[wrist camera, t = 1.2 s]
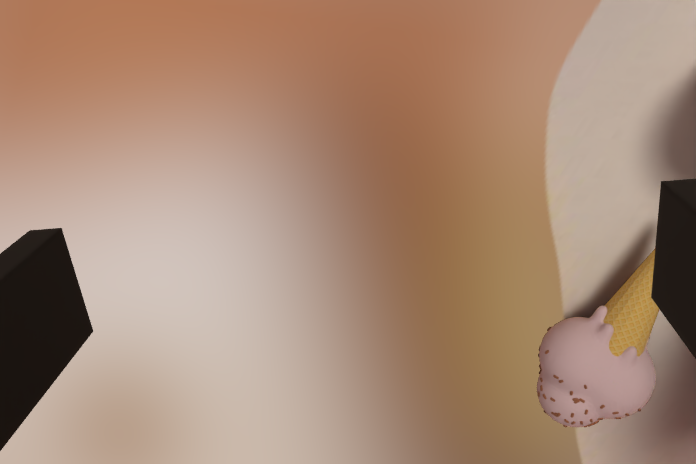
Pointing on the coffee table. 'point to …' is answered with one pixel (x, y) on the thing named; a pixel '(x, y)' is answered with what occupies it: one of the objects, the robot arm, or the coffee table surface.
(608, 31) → the coffee table surface
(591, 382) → the ice cream cone
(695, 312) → the robot arm
